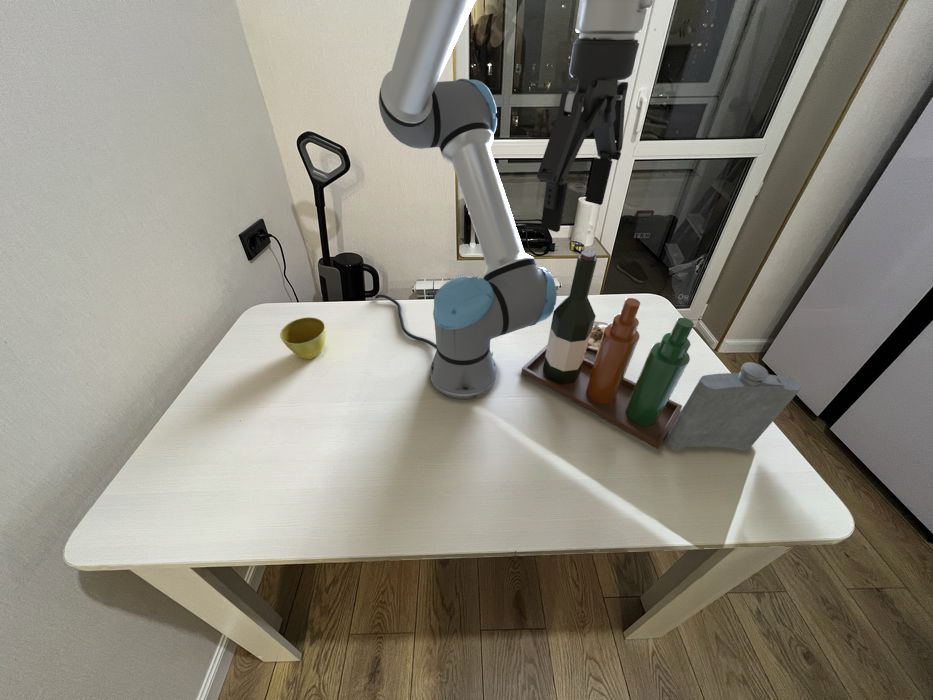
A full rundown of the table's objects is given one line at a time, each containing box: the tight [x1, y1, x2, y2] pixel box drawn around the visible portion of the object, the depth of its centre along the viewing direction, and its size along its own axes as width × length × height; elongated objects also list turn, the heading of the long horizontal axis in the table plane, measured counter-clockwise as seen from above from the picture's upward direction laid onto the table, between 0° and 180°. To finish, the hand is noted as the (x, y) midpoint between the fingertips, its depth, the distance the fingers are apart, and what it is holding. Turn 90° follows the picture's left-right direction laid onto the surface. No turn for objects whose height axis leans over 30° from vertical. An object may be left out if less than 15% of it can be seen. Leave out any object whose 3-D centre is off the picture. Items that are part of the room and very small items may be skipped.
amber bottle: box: [586, 297, 641, 404], centre depth 75 cm, size 6×6×24 cm
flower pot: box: [279, 316, 326, 360], centre depth 92 cm, size 10×10×7 cm
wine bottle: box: [543, 249, 598, 385], centre depth 78 cm, size 8×8×30 cm
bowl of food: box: [585, 320, 609, 356], centre depth 95 cm, size 15×15×4 cm
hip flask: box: [665, 361, 802, 451], centre depth 67 cm, size 16×4×20 cm, turn 88°
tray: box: [520, 345, 683, 450], centre depth 83 cm, size 32×13×2 cm, turn 49°
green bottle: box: [625, 317, 695, 426], centre depth 70 cm, size 6×6×24 cm
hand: (573, 215), depth 58 cm, fingers open, 13 cm apart
